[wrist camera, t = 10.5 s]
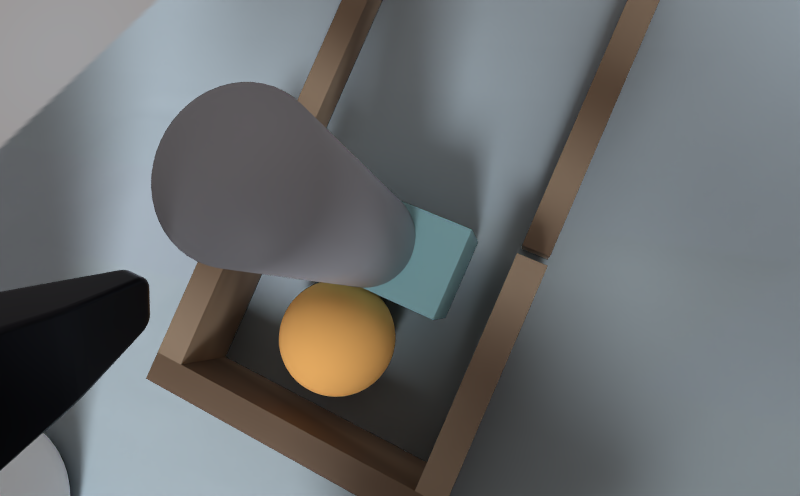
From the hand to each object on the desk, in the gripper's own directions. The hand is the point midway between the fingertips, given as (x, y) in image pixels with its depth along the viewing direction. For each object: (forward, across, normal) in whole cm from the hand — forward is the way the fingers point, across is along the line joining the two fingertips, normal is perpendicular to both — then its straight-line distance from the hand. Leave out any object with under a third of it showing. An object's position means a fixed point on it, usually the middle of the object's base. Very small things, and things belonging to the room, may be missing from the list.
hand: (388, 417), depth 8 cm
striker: (+12, +4, +4) cm, 13 cm away
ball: (+8, +4, +6) cm, 11 cm away
